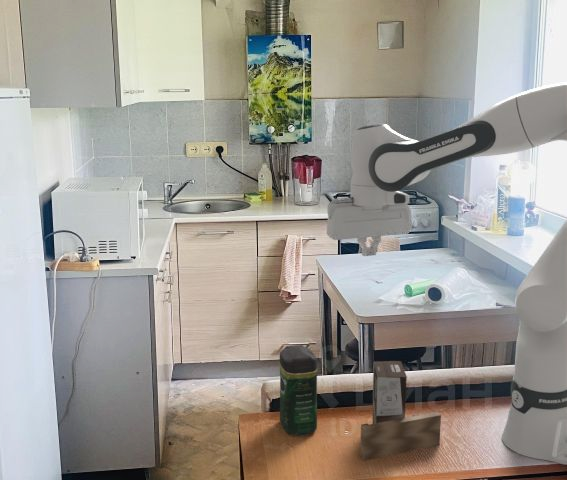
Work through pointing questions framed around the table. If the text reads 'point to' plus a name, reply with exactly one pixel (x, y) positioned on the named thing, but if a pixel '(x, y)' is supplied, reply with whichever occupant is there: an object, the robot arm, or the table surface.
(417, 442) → the keeper bracket
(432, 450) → the table surface
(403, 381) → the coffee box
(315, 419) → the coffee jar
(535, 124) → the robot arm
